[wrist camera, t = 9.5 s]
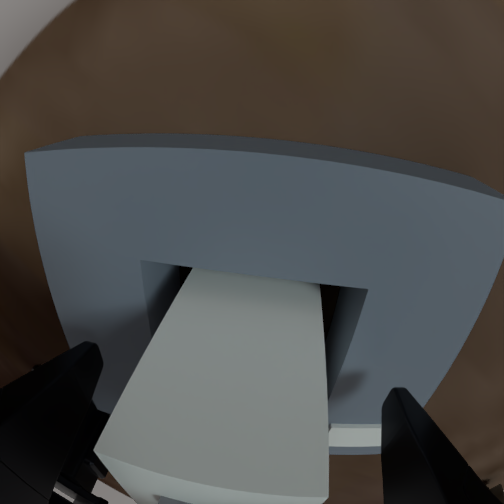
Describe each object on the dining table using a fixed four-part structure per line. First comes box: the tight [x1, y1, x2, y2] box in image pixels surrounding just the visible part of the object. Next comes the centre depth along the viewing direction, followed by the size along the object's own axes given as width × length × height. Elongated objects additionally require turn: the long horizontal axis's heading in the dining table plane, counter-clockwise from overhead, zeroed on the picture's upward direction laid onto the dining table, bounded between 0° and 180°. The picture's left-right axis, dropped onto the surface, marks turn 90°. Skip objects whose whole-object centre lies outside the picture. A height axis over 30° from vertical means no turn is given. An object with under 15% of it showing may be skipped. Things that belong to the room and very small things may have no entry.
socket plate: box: [25, 134, 504, 455], centre depth 10 cm, size 14×12×3 cm
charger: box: [93, 268, 329, 504], centre depth 8 cm, size 4×4×8 cm
